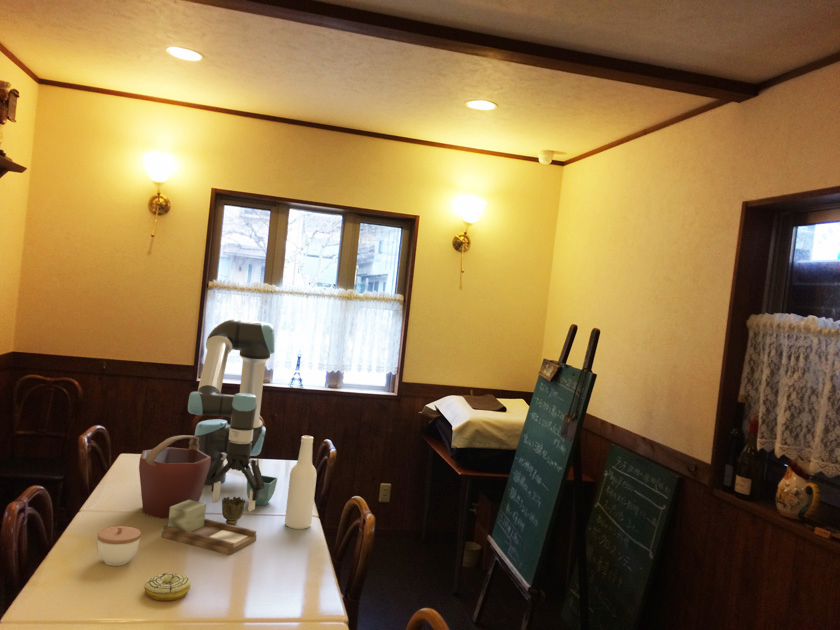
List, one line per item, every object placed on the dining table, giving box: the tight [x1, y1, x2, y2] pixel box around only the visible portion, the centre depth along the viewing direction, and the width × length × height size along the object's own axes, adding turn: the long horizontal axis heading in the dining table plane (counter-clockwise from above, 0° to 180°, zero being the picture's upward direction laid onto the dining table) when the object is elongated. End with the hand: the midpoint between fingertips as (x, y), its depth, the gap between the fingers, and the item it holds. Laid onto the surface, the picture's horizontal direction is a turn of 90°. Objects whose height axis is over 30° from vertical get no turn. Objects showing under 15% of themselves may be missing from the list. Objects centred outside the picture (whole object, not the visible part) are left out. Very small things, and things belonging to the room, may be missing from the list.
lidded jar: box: [96, 525, 142, 567], centre depth 181 cm, size 11×11×9 cm
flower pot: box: [246, 474, 278, 506], centre depth 243 cm, size 9×9×9 cm
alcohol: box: [284, 435, 317, 530], centre depth 225 cm, size 9×9×30 cm
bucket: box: [138, 434, 211, 519], centre depth 225 cm, size 24×22×25 cm
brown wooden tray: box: [161, 500, 257, 556], centre depth 205 cm, size 24×14×8 cm, turn 72°
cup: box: [221, 496, 246, 526], centre depth 219 cm, size 8×7×8 cm
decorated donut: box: [143, 572, 192, 602], centre depth 167 cm, size 10×11×4 cm
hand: (233, 506), depth 219 cm, fingers open, 13 cm apart
